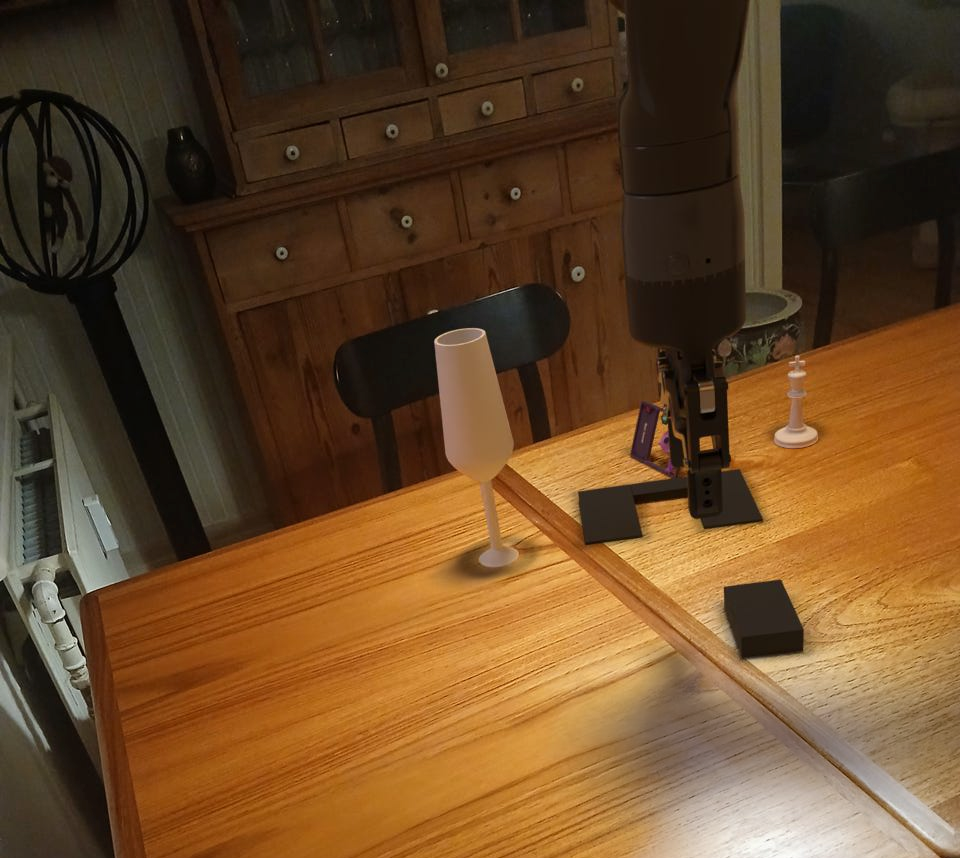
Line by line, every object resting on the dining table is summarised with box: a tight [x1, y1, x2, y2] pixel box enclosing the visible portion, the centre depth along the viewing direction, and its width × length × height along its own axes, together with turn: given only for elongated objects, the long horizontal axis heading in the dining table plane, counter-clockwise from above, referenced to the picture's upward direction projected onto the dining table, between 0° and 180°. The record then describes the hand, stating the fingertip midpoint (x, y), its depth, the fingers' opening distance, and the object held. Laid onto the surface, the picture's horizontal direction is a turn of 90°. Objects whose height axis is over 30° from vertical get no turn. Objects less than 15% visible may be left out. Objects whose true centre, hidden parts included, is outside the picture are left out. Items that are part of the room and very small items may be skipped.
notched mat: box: [577, 468, 764, 546], centre depth 105 cm, size 18×12×1 cm, turn 89°
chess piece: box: [773, 355, 819, 449], centre depth 113 cm, size 5×5×10 cm
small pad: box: [723, 578, 805, 659], centre depth 84 cm, size 5×8×3 cm, turn 179°
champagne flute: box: [433, 327, 520, 568], centre depth 96 cm, size 7×7×24 cm
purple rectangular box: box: [629, 400, 681, 479], centre depth 115 cm, size 7×5×9 cm
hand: (695, 488), depth 71 cm, fingers open, 8 cm apart
